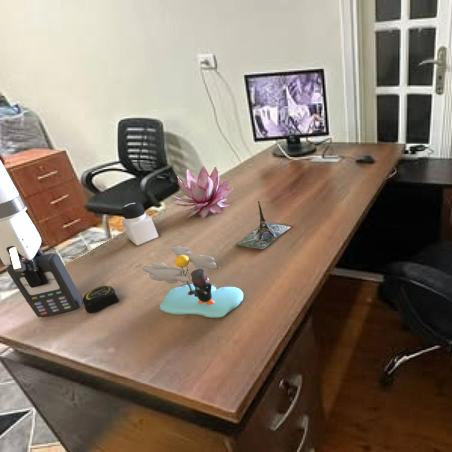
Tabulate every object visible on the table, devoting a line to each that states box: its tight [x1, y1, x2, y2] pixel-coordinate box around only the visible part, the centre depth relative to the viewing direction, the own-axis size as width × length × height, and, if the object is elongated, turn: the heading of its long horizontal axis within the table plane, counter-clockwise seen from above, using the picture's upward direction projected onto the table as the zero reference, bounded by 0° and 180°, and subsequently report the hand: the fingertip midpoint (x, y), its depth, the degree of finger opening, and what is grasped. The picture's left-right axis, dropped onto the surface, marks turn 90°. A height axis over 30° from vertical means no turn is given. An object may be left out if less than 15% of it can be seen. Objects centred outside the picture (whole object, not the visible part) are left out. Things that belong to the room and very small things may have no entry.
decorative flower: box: [170, 165, 235, 220], centre depth 125 cm, size 21×21×15 cm
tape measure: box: [82, 285, 120, 315], centre depth 86 cm, size 7×7×4 cm
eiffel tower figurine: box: [236, 199, 292, 250], centre depth 106 cm, size 15×10×13 cm
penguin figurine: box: [142, 245, 244, 319], centre depth 80 cm, size 20×11×15 cm, turn 75°
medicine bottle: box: [120, 202, 159, 247], centre depth 112 cm, size 7×7×12 cm
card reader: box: [6, 253, 83, 318], centre depth 82 cm, size 9×4×15 cm, turn 109°
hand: (42, 278), depth 81 cm, fingers closed on card reader, 4 cm apart
